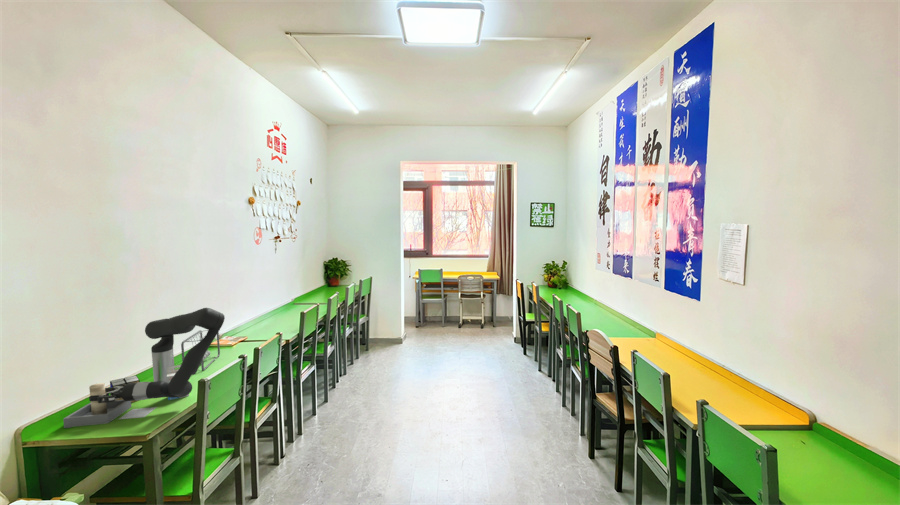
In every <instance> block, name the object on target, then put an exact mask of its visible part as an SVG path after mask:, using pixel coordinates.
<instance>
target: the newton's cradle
mask: <svg viewBox="0 0 900 505" xmlns="http://www.w3.org/2000/svg"><path fill="white" fill-rule="evenodd" d="M207 332H208V330H207V329H205V330H201V329H200V330H198V331H196V332H195V333H193V334H192V335H190V336H189V337H187V338H185V339H183V341H182V342H181V343H180V345H181V347H180V348H181V360H182V362H183V360H184V357H185V345H184V344H185V343H190V342H191V343H192V345H194V344H195V345H196V344H197V343H196V342H200V341H201V340H202V339H203V338H204V337H205V336H206V334H207ZM203 333H204V334H203ZM195 341H196V342H195ZM216 341H217V343H216V345H217V355H216V356H217V357H218V356H219V357H221V356H220V355H221V348H220V346H221V345H220V331H219V332H218V333H217V335H216ZM193 342H194V343H193ZM210 356H211V351H210V350H209V348H208V349H207V351H206V353H205V355H204V357H203V359H202V361H201V363H200V366H201V369H202V370H201V371H203V370H204V371H206V370H207V369H208V368H209V367H208V366H209V365H210V364H211V363H212V362H213V361H214V360H215V359H216V358H217V357H213V359H212V360H211V361H210V362H208V364H207V365H205V366H204V360H205V361H206V359H207V358H209V357H210ZM219 357H218V358H219ZM218 358H217V359H218ZM217 359H216V360H217ZM216 360H215V361H216ZM215 361H214V362H215ZM182 362H181V363H182ZM214 362H213V363H214ZM213 363H212V364H213ZM212 364H211V365H212ZM211 365H210V366H211Z"/></svg>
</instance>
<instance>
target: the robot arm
mask: <svg viewBox="0 0 900 505" xmlns="http://www.w3.org/2000/svg"><path fill="white" fill-rule="evenodd" d="M225 318H226V317H225V315H224V314H223V313H222V312H220V311H217V310H215V309H212V308H210V307H203V308H200V309H197V310H195V311H192V312H188V313H185V314H179V315H176V316H173V317H169V318H162V319H157V320H151V321H150V322H148V323H147V324H146V325H145V329H144V334H145V336H147V337H148V338H149V339H151V340H156V339H159V340H158V342H156V343H155V344H153V345H152V346H151V349H150V350H151V361H152V362H151V363H152V374H153V376H152V377H153V381H140V382H135V383H127V384H124V385H118V387H117V386H115V387H114V388H113V387H111V388H110V387H105V393H106V394H103V395H94V396H90V395H89V397H88V401H89V403H91V401H98V403H106V402H114V401H115V399H120V398H122V399H123V400H124V401H135V402H137V401H136V400H139V401H144V400H151V399H160V398H168V397H182V398H185V397H184V396H186V397H188V396H187V395H188V394H189V395H190V393H192V391H193V384H192V383H191V381H189V380H190V379H191V377H192V376H194V375H196V373H197V372H198V371H199V368H200V366H201V361H202V359H203V357H204V355H205V353H206V351H207V349H208V350H209V348H210V346H211V345H212V343H213V342H214V341H215V338H217V333H218V332H219V333H220V331H221V328H222V327H223V325H224V322H225ZM196 327H199V328H203V329H205V330H208V331H206V332H207V333H205V335H206V336H205V335H204V336H205V337H204V336H203V339H202V340H201V341H198V342H197V343H196V344H195V345H193V346H192V347H191V348H190V349H189V350H188V351H187V353H186V354H184V360H183V362H181V364H180V365H181V366H180V368H178V369H179V370H178V371H177V372H176V374H175V375H174V376H173V378H172V379H171V381H170V382H167V367H172V366H175V356H174V355H175V354H174V343H175V341H174V340H175V338H174V335H175V336H176V335H183V334H187V333H190V332H192V331H193V330H194V329H195V328H196ZM174 370H176V368H174ZM103 398H104V399H103Z"/></svg>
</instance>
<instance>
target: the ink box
mask: <svg viewBox="0 0 900 505" xmlns="http://www.w3.org/2000/svg"><path fill="white" fill-rule="evenodd" d="M180 366H181V364H178V365H174V366H172V367H167V382H170V381H171V379H172V378H173V376H174V375H175V374H176V372H177V371H178V370H179V368H180ZM174 368H175V370H174ZM189 396H190V393H189V394H188V395H187V396H184V397H167V400H168V401H172V400H177V399H181V398H185V397H189Z"/></svg>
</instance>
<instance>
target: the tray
mask: <svg viewBox="0 0 900 505" xmlns="http://www.w3.org/2000/svg"><path fill="white" fill-rule="evenodd" d="M106 405H107V413H106V414H97V415H92V413H91V402H89V403H87V404H85V405H84V406H83V407H80V408H79V409H77V410H76V411H74V412H72V413H70V414H69V415H67V416H66V417H64V418H63V419H62V420H63V428H64V429H70V428H73V427H74V428H75V427H82V426H95V425H105V424H106V425H107V424H109V423H110V422H112V421H113V420H115V419H117V418H118V417H119V416H121V415H122V414H123V413H125V412H127V411H128V410H129V409H131V408H132V402H131V401H124V400H115V401H114V402H106Z"/></svg>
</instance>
